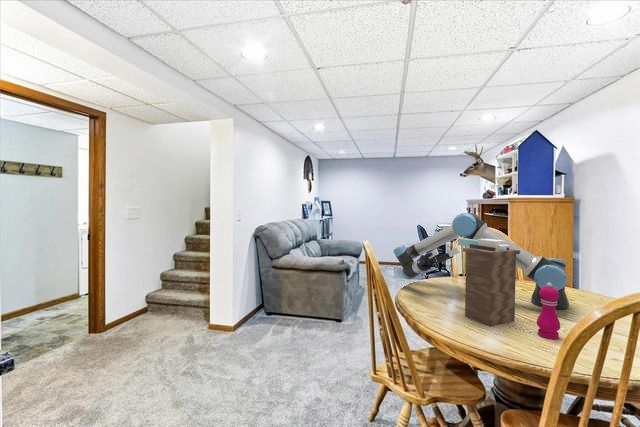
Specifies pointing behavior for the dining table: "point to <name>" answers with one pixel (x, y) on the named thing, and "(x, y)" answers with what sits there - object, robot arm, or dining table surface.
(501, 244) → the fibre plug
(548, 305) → the pepper mill
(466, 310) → the wood-grain storage bin
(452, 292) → the dining table surface
